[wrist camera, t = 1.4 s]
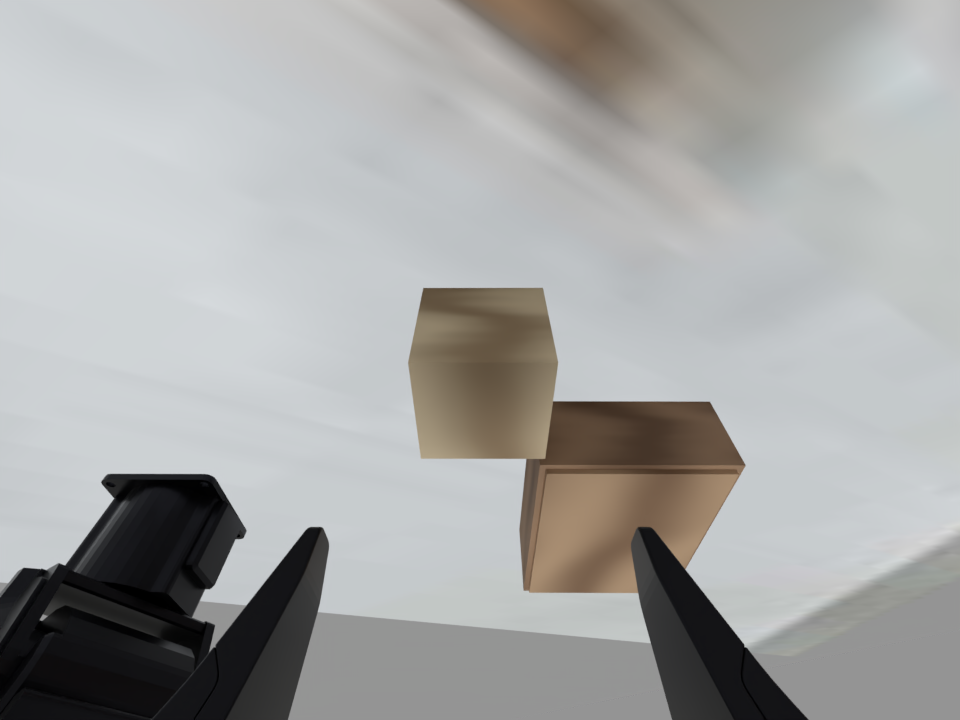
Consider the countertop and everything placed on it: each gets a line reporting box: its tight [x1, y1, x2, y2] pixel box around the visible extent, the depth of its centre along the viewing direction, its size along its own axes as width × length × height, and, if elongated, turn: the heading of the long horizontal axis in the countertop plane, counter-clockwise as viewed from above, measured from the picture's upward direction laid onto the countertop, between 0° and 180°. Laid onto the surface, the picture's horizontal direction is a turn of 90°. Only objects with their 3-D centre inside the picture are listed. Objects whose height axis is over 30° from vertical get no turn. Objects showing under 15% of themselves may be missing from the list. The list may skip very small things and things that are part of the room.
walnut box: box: [519, 401, 746, 593], centre depth 25 cm, size 9×12×4 cm
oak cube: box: [408, 288, 558, 459], centre depth 19 cm, size 5×5×5 cm
